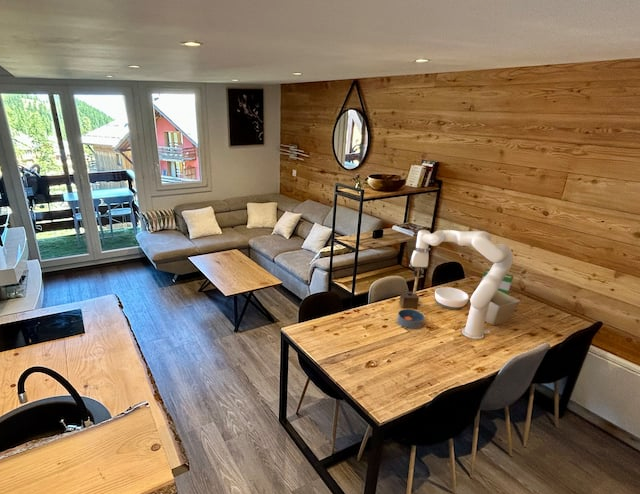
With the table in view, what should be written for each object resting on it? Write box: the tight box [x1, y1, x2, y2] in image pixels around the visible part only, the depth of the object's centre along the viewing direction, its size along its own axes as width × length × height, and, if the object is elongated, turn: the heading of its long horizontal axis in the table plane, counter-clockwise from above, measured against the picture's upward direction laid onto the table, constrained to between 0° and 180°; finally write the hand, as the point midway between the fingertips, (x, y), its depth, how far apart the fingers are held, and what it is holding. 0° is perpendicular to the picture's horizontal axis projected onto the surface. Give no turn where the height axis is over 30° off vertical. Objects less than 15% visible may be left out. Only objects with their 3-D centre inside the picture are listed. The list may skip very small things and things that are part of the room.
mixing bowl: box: [396, 308, 425, 330], centre depth 254 cm, size 16×16×6 cm
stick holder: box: [398, 290, 420, 310], centre depth 275 cm, size 10×10×9 cm
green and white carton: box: [481, 268, 515, 295], centre depth 277 cm, size 18×7×24 cm, turn 52°
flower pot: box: [485, 290, 521, 326], centre depth 258 cm, size 19×19×17 cm
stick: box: [412, 267, 420, 294], centre depth 256 cm, size 2×2×18 cm
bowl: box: [434, 286, 470, 311], centre depth 279 cm, size 22×22×8 cm
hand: (417, 275), depth 254 cm, fingers closed on stick, 1 cm apart
